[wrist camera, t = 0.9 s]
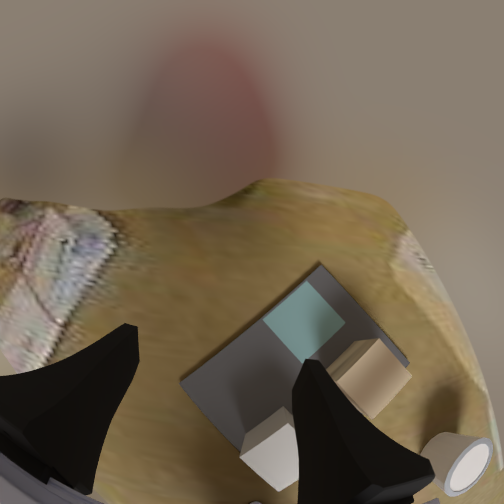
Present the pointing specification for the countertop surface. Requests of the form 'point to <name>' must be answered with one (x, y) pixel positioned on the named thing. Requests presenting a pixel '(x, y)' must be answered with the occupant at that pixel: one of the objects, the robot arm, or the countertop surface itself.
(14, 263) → the countertop surface
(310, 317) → the mat
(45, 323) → the countertop surface
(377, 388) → the maple block
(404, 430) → the countertop surface
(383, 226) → the countertop surface
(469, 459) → the white tapered cylinder
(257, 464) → the grey block
